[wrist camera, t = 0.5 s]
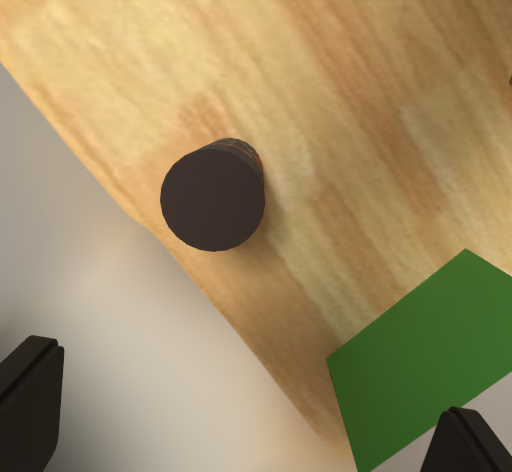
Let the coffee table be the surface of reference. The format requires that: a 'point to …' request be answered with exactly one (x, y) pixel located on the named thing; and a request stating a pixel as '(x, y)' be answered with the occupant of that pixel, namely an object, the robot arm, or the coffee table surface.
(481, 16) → the coffee table surface
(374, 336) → the hardback book
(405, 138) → the coffee table surface
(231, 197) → the deodorant
